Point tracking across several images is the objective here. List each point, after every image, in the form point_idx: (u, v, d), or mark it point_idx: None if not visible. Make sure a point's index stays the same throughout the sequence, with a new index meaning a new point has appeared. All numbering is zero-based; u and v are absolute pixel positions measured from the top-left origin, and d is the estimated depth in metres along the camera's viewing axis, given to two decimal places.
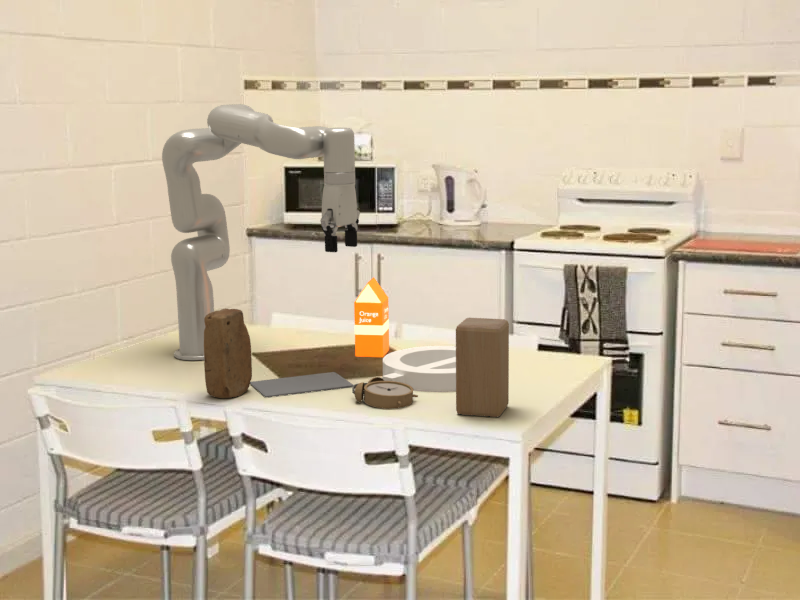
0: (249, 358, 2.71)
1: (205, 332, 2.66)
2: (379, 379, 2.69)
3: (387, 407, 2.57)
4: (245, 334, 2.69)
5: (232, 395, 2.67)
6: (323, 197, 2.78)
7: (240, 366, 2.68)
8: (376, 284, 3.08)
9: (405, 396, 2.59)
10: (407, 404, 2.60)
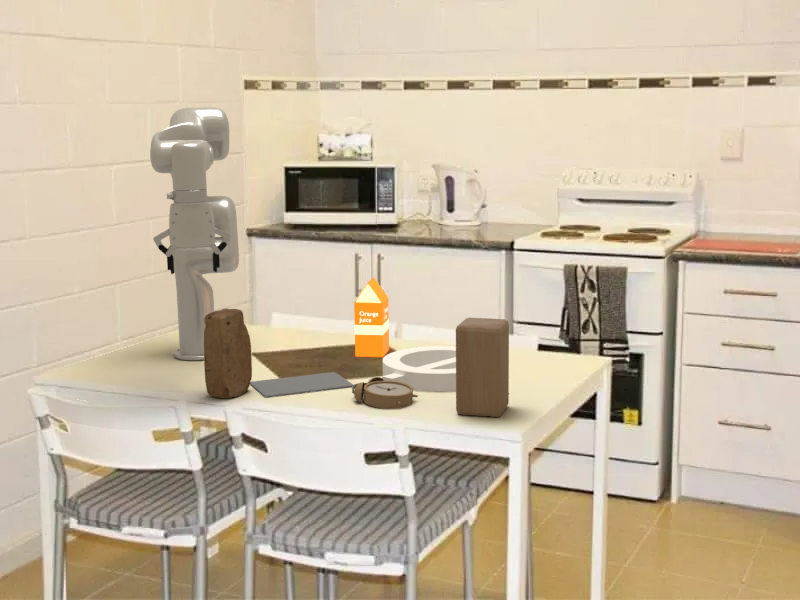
0: (249, 358, 2.71)
1: (205, 332, 2.66)
2: (379, 379, 2.69)
3: (387, 407, 2.58)
4: (245, 334, 2.69)
5: (232, 395, 2.67)
6: (212, 215, 2.61)
7: (240, 366, 2.68)
8: (376, 284, 3.08)
9: (405, 396, 2.59)
10: (407, 404, 2.60)
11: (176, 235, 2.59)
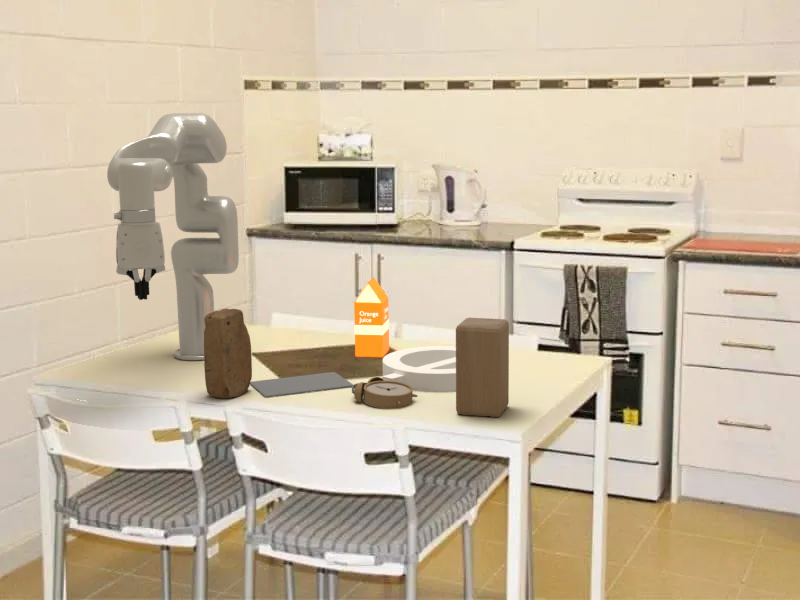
0: (249, 358, 2.71)
1: (205, 332, 2.66)
2: (379, 379, 2.69)
3: (387, 407, 2.58)
4: (245, 334, 2.69)
5: (232, 395, 2.67)
6: (161, 235, 2.57)
7: (240, 366, 2.68)
8: (376, 284, 3.08)
9: (405, 396, 2.59)
10: (407, 404, 2.60)
11: (125, 256, 2.54)
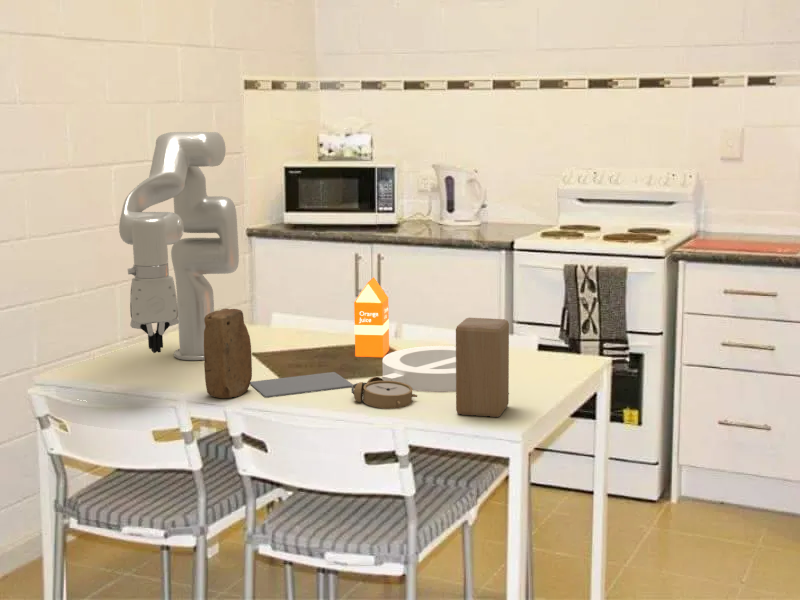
0: (249, 358, 2.71)
1: (205, 332, 2.66)
2: (378, 379, 2.69)
3: (387, 407, 2.58)
4: (245, 334, 2.69)
5: (232, 395, 2.67)
6: (174, 289, 2.60)
7: (240, 366, 2.68)
8: (376, 284, 3.08)
9: (404, 396, 2.59)
10: (406, 404, 2.60)
11: (139, 311, 2.57)
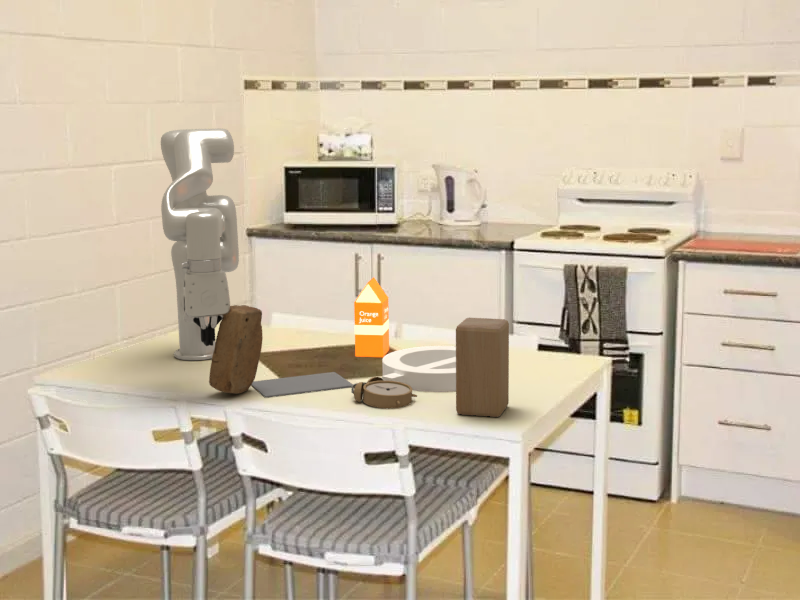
0: (257, 359, 2.71)
1: (221, 323, 2.66)
2: (378, 379, 2.69)
3: (386, 407, 2.58)
4: (259, 334, 2.69)
5: (233, 391, 2.67)
6: (227, 283, 2.64)
7: (247, 365, 2.68)
8: (376, 284, 3.08)
9: (404, 396, 2.59)
10: (406, 404, 2.60)
11: (193, 304, 2.61)
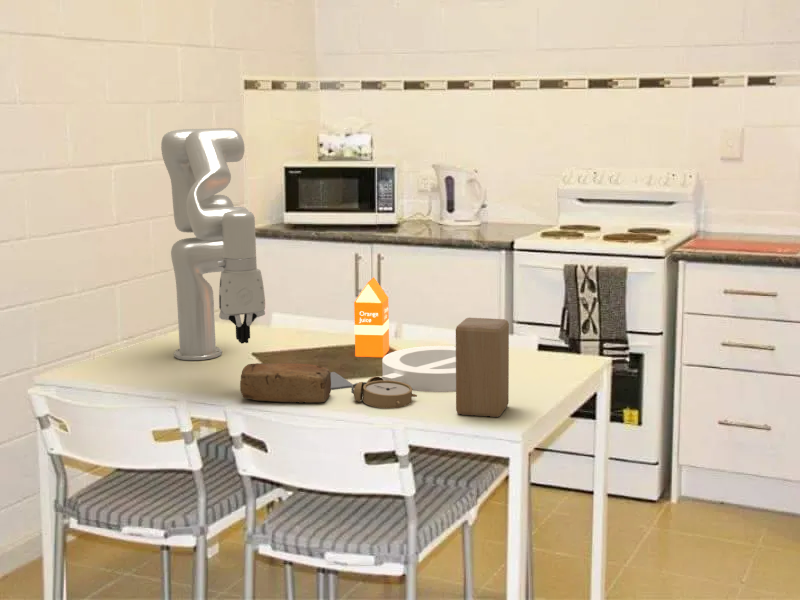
0: None
1: (306, 379, 2.61)
2: (378, 379, 2.69)
3: (386, 407, 2.58)
4: None
5: (244, 397, 2.65)
6: (262, 281, 2.68)
7: None
8: (376, 284, 3.08)
9: (404, 396, 2.59)
10: (406, 404, 2.60)
11: (229, 302, 2.65)
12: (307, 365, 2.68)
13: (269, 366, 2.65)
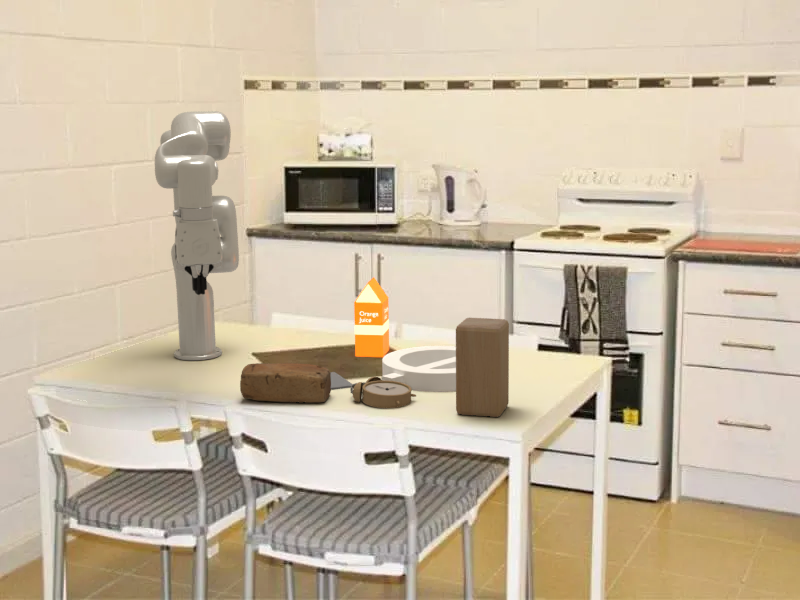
0: None
1: (306, 379, 2.61)
2: (377, 379, 2.69)
3: (386, 407, 2.58)
4: None
5: (244, 397, 2.65)
6: (219, 231, 2.62)
7: None
8: (376, 284, 3.08)
9: (404, 396, 2.59)
10: (405, 403, 2.60)
11: (185, 253, 2.59)
12: (307, 365, 2.68)
13: (269, 366, 2.65)
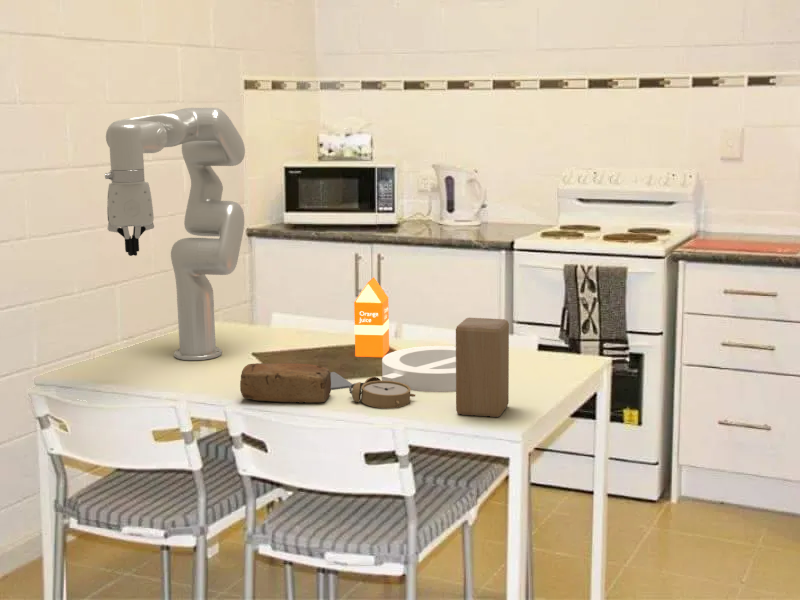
0: None
1: (306, 379, 2.61)
2: (376, 379, 2.69)
3: (385, 407, 2.58)
4: None
5: (244, 397, 2.65)
6: (150, 194, 2.70)
7: None
8: (376, 284, 3.08)
9: (403, 396, 2.59)
10: (405, 403, 2.60)
11: (116, 214, 2.67)
12: (307, 365, 2.68)
13: (269, 366, 2.65)
